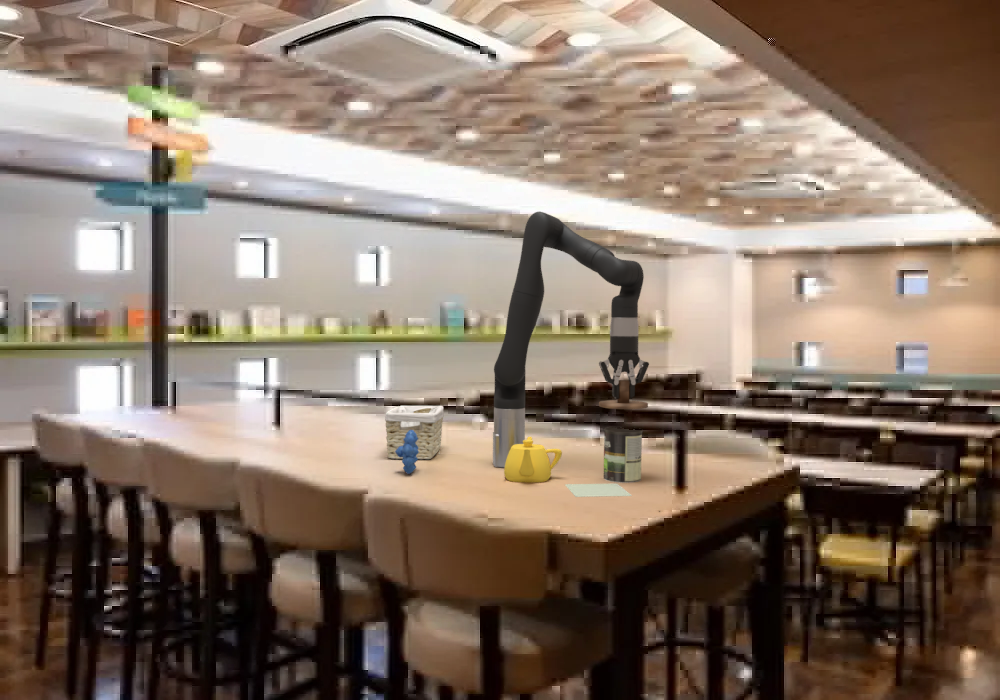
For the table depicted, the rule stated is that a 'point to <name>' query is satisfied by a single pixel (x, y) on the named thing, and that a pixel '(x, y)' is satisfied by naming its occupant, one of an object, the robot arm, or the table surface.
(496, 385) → the robot arm
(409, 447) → the grapes
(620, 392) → the lid
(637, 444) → the coffee can
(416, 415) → the storage basket
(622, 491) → the mat
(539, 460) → the teapot
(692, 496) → the table surface
